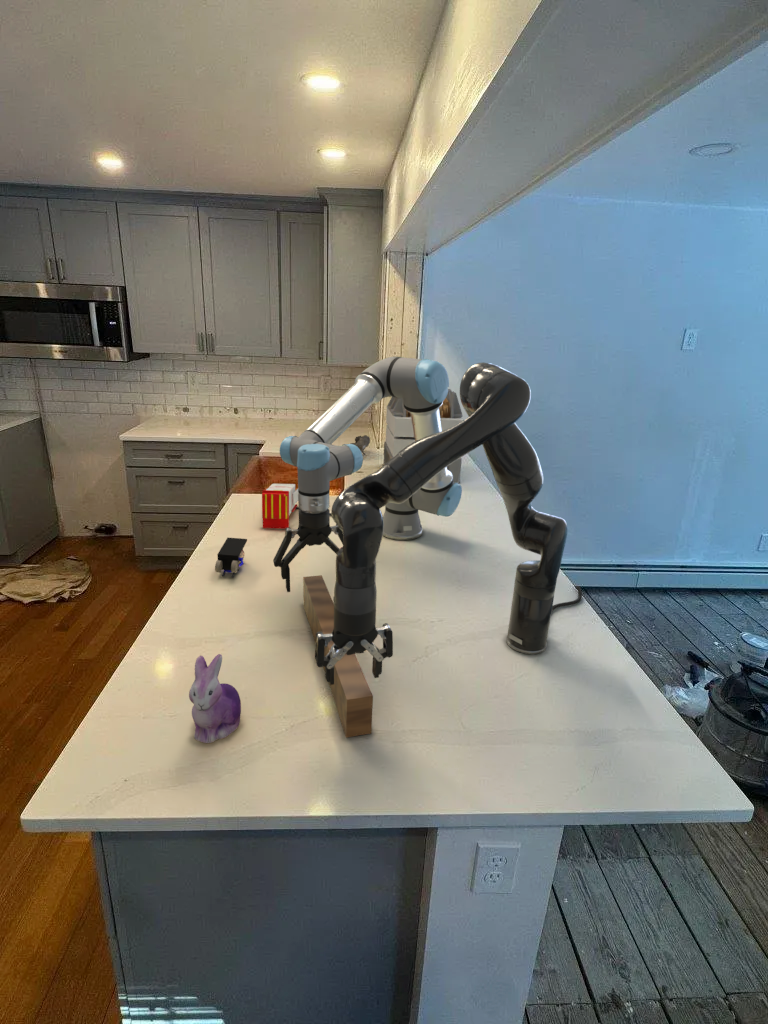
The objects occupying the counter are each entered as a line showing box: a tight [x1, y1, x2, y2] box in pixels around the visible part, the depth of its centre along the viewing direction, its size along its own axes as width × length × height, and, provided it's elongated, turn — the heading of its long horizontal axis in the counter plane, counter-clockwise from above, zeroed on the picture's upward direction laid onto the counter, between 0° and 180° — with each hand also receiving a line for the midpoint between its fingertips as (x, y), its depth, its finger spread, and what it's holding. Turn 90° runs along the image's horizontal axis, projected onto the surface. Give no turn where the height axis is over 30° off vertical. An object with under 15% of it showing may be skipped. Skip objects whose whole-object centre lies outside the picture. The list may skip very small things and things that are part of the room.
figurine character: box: [214, 537, 248, 578], centre depth 166 cm, size 7×8×15 cm
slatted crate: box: [383, 388, 465, 484], centre depth 268 cm, size 34×33×41 cm
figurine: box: [188, 653, 242, 744], centre depth 103 cm, size 9×10×15 cm
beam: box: [302, 574, 374, 738], centre depth 126 cm, size 50×5×8 cm, turn 17°
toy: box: [261, 483, 298, 530], centre depth 210 cm, size 12×13×30 cm
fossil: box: [349, 434, 371, 456], centre depth 302 cm, size 22×10×15 cm
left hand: (314, 586), depth 145 cm, fingers open, 13 cm apart
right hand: (353, 678), depth 106 cm, fingers open, 8 cm apart
